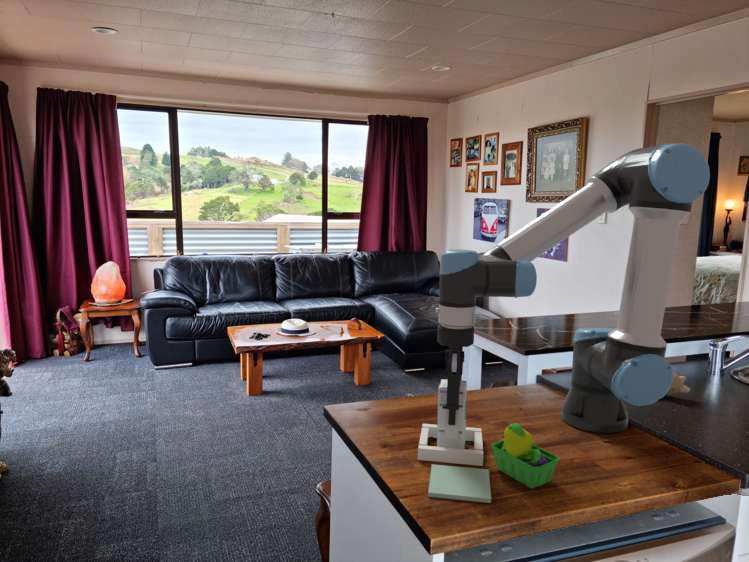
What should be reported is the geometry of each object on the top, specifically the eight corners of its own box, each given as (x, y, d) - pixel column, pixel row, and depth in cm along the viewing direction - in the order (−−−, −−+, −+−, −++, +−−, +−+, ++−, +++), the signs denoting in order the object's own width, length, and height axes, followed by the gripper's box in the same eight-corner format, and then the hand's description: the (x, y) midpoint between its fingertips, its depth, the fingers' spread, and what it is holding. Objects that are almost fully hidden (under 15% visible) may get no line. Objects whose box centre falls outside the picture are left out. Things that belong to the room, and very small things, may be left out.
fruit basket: (560, 483, 106) (564, 426, 104) (527, 495, 101) (531, 436, 100) (515, 459, 115) (518, 406, 114) (483, 469, 111) (486, 415, 109)
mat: (488, 473, 109) (488, 469, 109) (491, 503, 98) (491, 498, 98) (431, 468, 111) (431, 464, 111) (428, 496, 100) (428, 492, 100)
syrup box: (464, 456, 116) (467, 388, 114) (435, 453, 117) (438, 386, 115) (465, 444, 122) (468, 380, 120) (437, 442, 123) (440, 378, 121)
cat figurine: (635, 370, 160) (682, 363, 156) (640, 390, 162) (686, 384, 158) (641, 386, 152) (690, 379, 148) (645, 407, 155) (694, 401, 151)
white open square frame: (480, 439, 125) (481, 428, 125) (482, 465, 112) (483, 454, 112) (422, 434, 127) (422, 423, 127) (417, 459, 114) (418, 448, 114)
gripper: (439, 315, 125) (435, 414, 129) (435, 334, 107) (431, 449, 110) (473, 316, 124) (469, 416, 128) (475, 336, 106) (469, 452, 109)
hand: (451, 431), depth 119 cm, fingers closed on syrup box, 6 cm apart
